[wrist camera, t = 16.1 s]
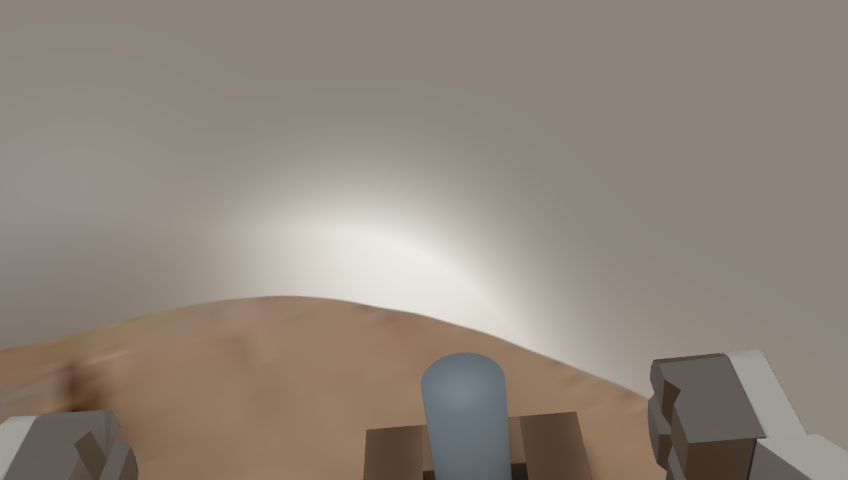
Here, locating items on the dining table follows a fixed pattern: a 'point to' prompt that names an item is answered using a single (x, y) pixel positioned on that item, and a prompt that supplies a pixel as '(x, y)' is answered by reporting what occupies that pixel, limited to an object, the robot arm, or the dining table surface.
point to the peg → (467, 418)
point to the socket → (528, 439)
